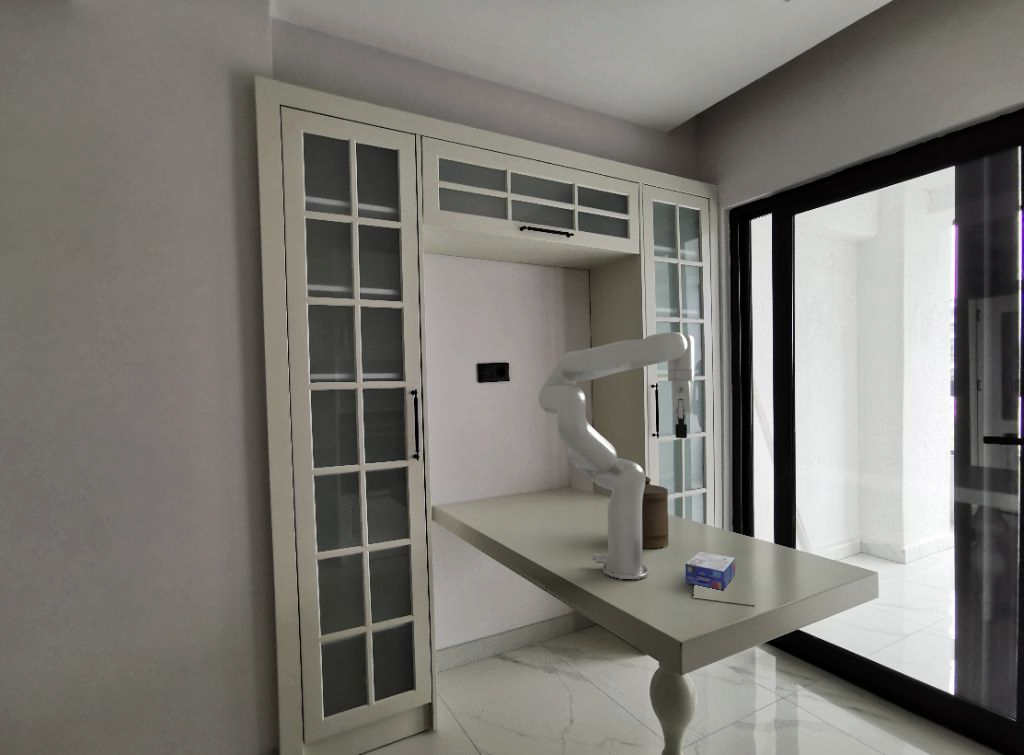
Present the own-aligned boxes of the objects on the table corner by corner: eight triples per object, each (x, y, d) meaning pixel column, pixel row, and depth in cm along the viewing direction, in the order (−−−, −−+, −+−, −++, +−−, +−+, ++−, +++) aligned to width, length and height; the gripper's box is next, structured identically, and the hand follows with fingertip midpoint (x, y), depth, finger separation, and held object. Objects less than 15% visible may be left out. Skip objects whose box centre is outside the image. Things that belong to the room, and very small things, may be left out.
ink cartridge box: (698, 570, 144) (681, 585, 133) (698, 550, 144) (681, 564, 133) (735, 578, 138) (721, 594, 127) (735, 557, 138) (721, 572, 127)
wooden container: (661, 536, 178) (661, 473, 178) (673, 549, 163) (673, 481, 163) (619, 535, 179) (618, 472, 179) (627, 549, 164) (626, 480, 164)
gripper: (694, 376, 144) (694, 440, 144) (694, 376, 158) (694, 435, 158) (666, 376, 147) (667, 440, 146) (668, 376, 161) (669, 435, 161)
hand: (681, 437), depth 152 cm, fingers closed
